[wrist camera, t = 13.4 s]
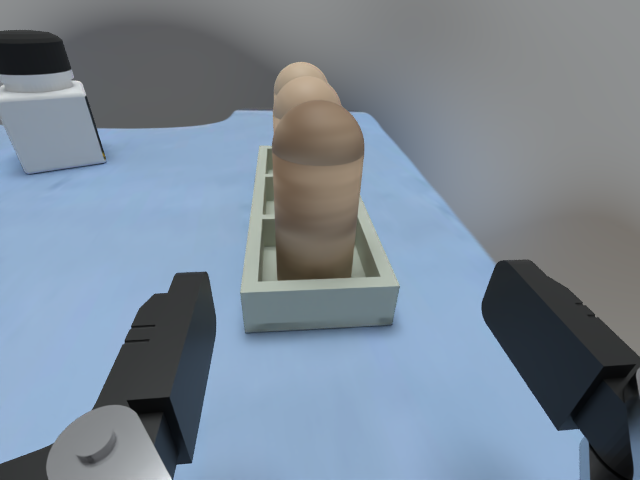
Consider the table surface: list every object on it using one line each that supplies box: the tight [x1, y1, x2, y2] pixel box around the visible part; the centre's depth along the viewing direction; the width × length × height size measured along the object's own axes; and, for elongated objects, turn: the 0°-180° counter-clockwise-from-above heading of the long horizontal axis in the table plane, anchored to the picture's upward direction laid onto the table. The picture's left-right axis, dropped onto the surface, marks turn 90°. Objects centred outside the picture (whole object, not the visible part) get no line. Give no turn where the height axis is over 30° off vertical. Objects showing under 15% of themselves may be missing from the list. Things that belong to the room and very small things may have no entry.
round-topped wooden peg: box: [272, 100, 364, 281], centre depth 19 cm, size 5×5×10 cm
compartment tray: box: [240, 62, 400, 333], centre depth 25 cm, size 22×8×11 cm, turn 6°
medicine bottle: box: [0, 30, 106, 174], centre depth 35 cm, size 7×7×12 cm
